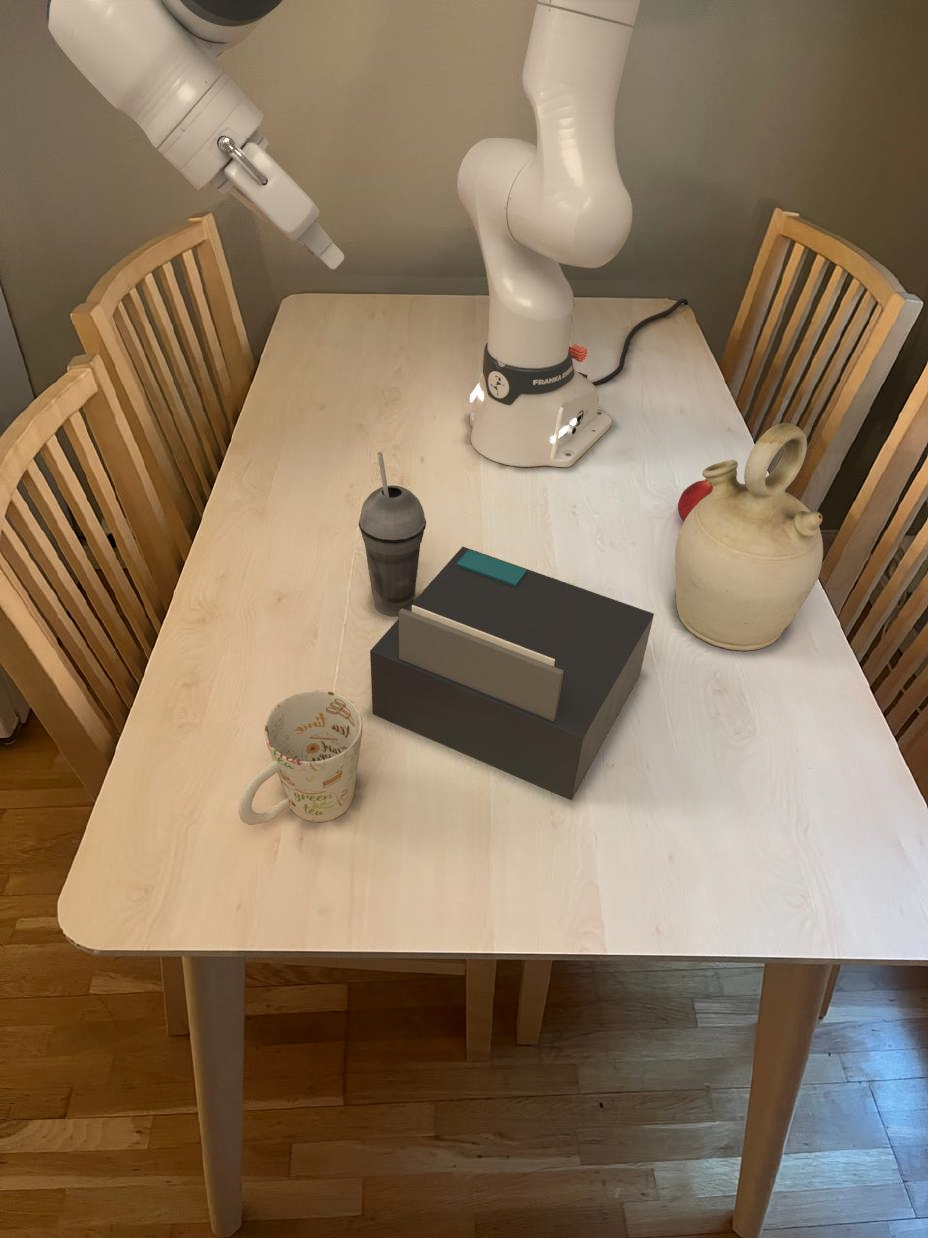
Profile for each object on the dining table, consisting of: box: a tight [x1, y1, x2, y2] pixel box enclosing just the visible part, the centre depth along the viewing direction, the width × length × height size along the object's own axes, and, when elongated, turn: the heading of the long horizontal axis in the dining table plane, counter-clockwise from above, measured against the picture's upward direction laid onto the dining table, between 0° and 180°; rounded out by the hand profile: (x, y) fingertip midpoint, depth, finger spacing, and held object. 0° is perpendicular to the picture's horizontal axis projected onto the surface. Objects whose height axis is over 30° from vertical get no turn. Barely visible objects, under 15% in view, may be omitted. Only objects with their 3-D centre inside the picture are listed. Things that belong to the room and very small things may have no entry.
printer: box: [369, 546, 655, 801], centre depth 92 cm, size 19×22×16 cm
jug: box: [674, 422, 824, 652], centre depth 99 cm, size 15×16×25 cm
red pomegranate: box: [677, 478, 713, 523], centre depth 118 cm, size 6×6×8 cm
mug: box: [238, 689, 363, 826], centre depth 82 cm, size 8×13×10 cm, turn 138°
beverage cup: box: [358, 451, 427, 617], centre depth 100 cm, size 7×7×20 cm
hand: (330, 257), depth 89 cm, fingers open, 8 cm apart
